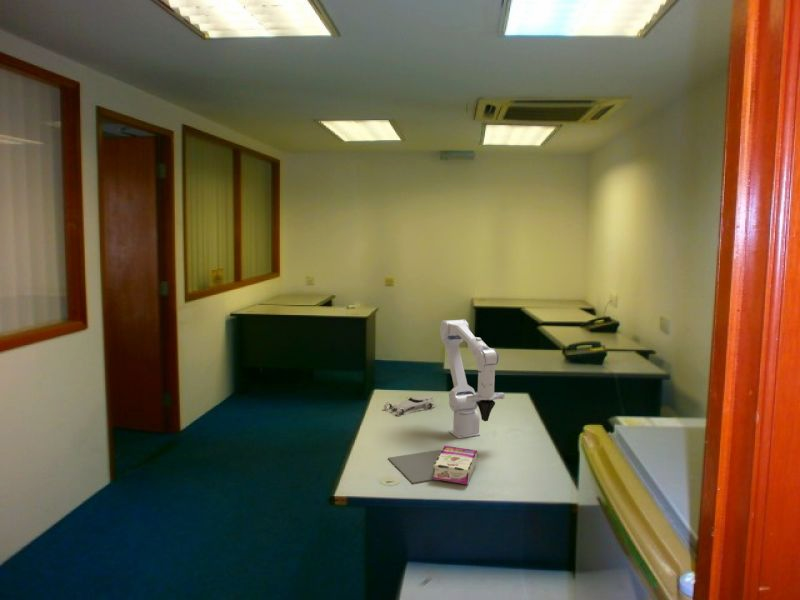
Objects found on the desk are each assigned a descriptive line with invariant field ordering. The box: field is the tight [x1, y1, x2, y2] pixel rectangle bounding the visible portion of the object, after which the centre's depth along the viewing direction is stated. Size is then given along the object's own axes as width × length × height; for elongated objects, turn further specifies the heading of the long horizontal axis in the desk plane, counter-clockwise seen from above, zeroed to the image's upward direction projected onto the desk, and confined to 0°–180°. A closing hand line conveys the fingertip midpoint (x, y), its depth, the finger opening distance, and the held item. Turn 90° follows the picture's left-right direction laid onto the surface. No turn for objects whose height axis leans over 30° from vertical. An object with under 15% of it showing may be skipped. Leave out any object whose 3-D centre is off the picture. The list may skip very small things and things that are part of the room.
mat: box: [387, 449, 443, 485], centre depth 186 cm, size 20×20×1 cm
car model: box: [383, 395, 436, 417], centre depth 245 cm, size 11×24×5 cm, turn 128°
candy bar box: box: [433, 445, 478, 485], centre depth 181 cm, size 11×5×16 cm
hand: (484, 420), depth 201 cm, fingers closed
